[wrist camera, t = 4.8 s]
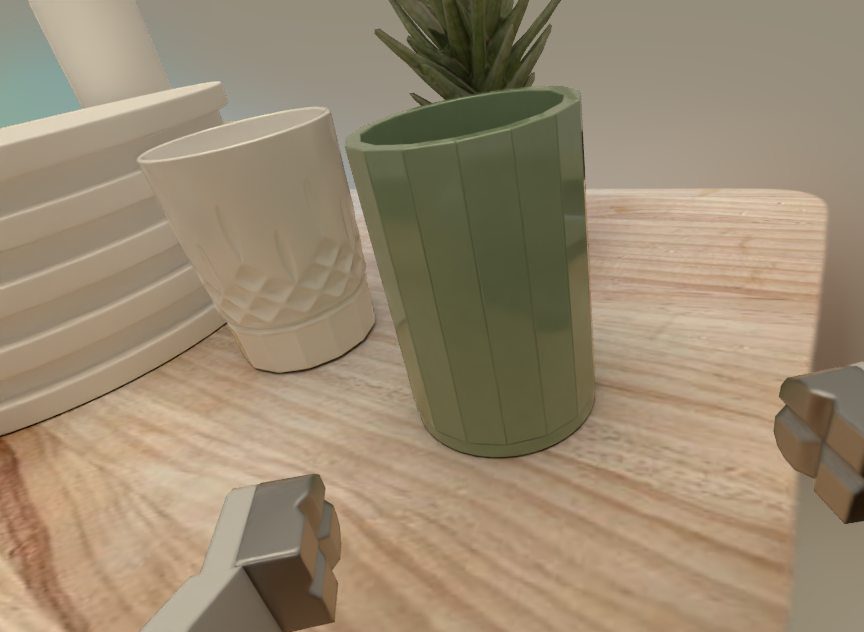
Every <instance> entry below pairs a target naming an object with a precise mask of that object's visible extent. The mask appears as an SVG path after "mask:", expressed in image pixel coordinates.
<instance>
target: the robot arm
mask: <svg viewBox="0 0 864 632" xmlns="http://www.w3.org/2000/svg"><path fill="white" fill-rule="evenodd" d="M779 397H780V398H781V400H782V401H783V402H784V403H785V404H786V405H785V406H784V408H783V409H782V410H781V411H780V412H779V413H778V414H777V415H776V416H775V423H774V435H775V439H776V442H777V446H778V448H779V450H780V451H781V453H782V455H783V456H784V458H785V459H786V461H787V462H788V463H789V464H790V465H791V466H792V467H793V468H794V470H796V471H798V472H800V473H803V474H805V475H807V476H809V477H811V478H814V491H815V493H816V494H817V495H818V496H819V497H820V498H821V499H822V500H823V501H824V502H825V503H826V504H827V506H828V507H829V508H830V509H831V510H832V511H833V512H834V513H835V514H836V515H837V516H838V517H839V519H840V520H841V521H842V522H843V523H844V524H848V523H854V522H860V521H864V362H860V363H855V364H850V365H847V366H842V367H837V368H833V369H827V370H823V371H818V372H813V373H808V374H804V375H799V376H794V377H790V378H787V379H786V380H785V381H784V382H783V384H782V385H781V389H780V394H779ZM324 496H325V486H324V484H323V481H322V479H321V477H320V475H318V474H310V475H304V476H298V477H293V478H287V479H281V480H276V481H270V482H264V483H260V484H257V485H251V486H245V487H239V488H233V489H232V490H231V491H230V492H229V493H228V495H227V496H226V498H225V501H224V504H223V507H222V510H221V513H220V516H219V519H218V522H217V525H216V528H215V531H214V533H213V536H212V539H211V542H210V545H209V548H208V551H207V554H206V557H205V560H204V563H203V566H202V568H201V571H200V574H199V575H195V576H191V577H190V578H189V579H188V580H187V581H186V582H185V583H184V584H183V585H182V586H181V587H180V588H179V589H178V590H177V591H176V593H175V594H174V595H173V596H172V597H171V598H170V599H169V600H168V601H167V602H166V603H165V604H164V605H163V606H162V607H161V609H160V610H159V611H158V612H157V613H156V614H155V615H154V616H153V617H152V618H151V619H150V620H149V621H148V622H147V623H146V625H145V626H144V627H143V628H142V629H141V630H140V631H139V632H293V631H297V630H302V629H306V628H311V627H315V626H320V625H324V624H329V623H333V622H335V612H336V601H337V590H338V582H337V580H336V578H335V576H334V574H333V571H332V570H333V569H334V567H335V566H336V564H337V563H338V562H339V560H340V555H341V534H340V525H339V521H338V517H337V514H336V511H335V509H334V506H333V505H332V504H331V503H329V502H327V501H325V500H324Z"/></svg>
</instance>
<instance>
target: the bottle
mask: <svg viewBox="0 0 864 632" xmlns="http://www.w3.org/2000/svg"><path fill="white" fill-rule="evenodd" d="M28 2H29V5H30V6H31V9H32V10H33V13H34V15H35V17H36V19H37V21H38V23H39V25H40V27H41V29H42V31H43V33H44V34H45V36H46V38H47V40H48V42H49V44H50V46H51V48H52V50H53V52H54V54H55V56H56V58H57V60H58V62H59V64H60V66H61V68H62V70H63V72H64V74H65V76H66V78H67V80H68V82H69V84H70V85H71V88H72V90H73V91H74V94H75V96H76V97H77V99H78V102H79V104H80V105H81V107H82V109H85V108H90V107H94V106H98V105H103V104H107V103H111V102H116V101H120V100H125V99H129V98H134V97H138V96H143V95H148V94H152V93H157V92H162V91H166V90H171V89H172V87H171V85H170V82H169V80H168V77H167V75H166V73H165V70H164V68H163V66H162V63H161V61H160V58H159V56H158V54H157V51H156V49H155V47H154V44H153V42H152V39H151V37H150V34H149V32H148V30H147V27H146V25H145V23H144V20H143V18H142V15H141V13H140V10H139V8H138V6H137V3H136V1H135V0H28Z"/></svg>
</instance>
